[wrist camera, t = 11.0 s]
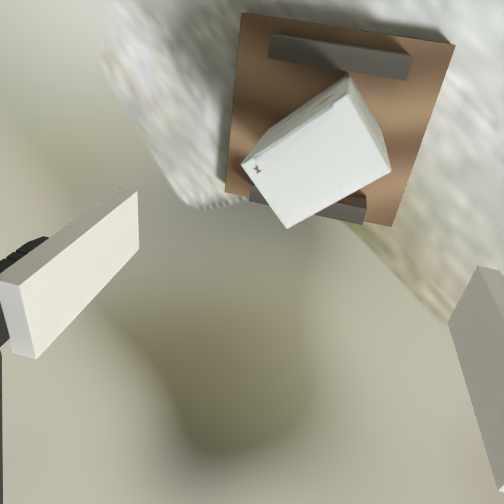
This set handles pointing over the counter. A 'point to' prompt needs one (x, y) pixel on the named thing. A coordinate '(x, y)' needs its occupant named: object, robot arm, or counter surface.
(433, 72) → the mounting plate
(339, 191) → the small box
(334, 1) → the counter surface
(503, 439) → the robot arm
